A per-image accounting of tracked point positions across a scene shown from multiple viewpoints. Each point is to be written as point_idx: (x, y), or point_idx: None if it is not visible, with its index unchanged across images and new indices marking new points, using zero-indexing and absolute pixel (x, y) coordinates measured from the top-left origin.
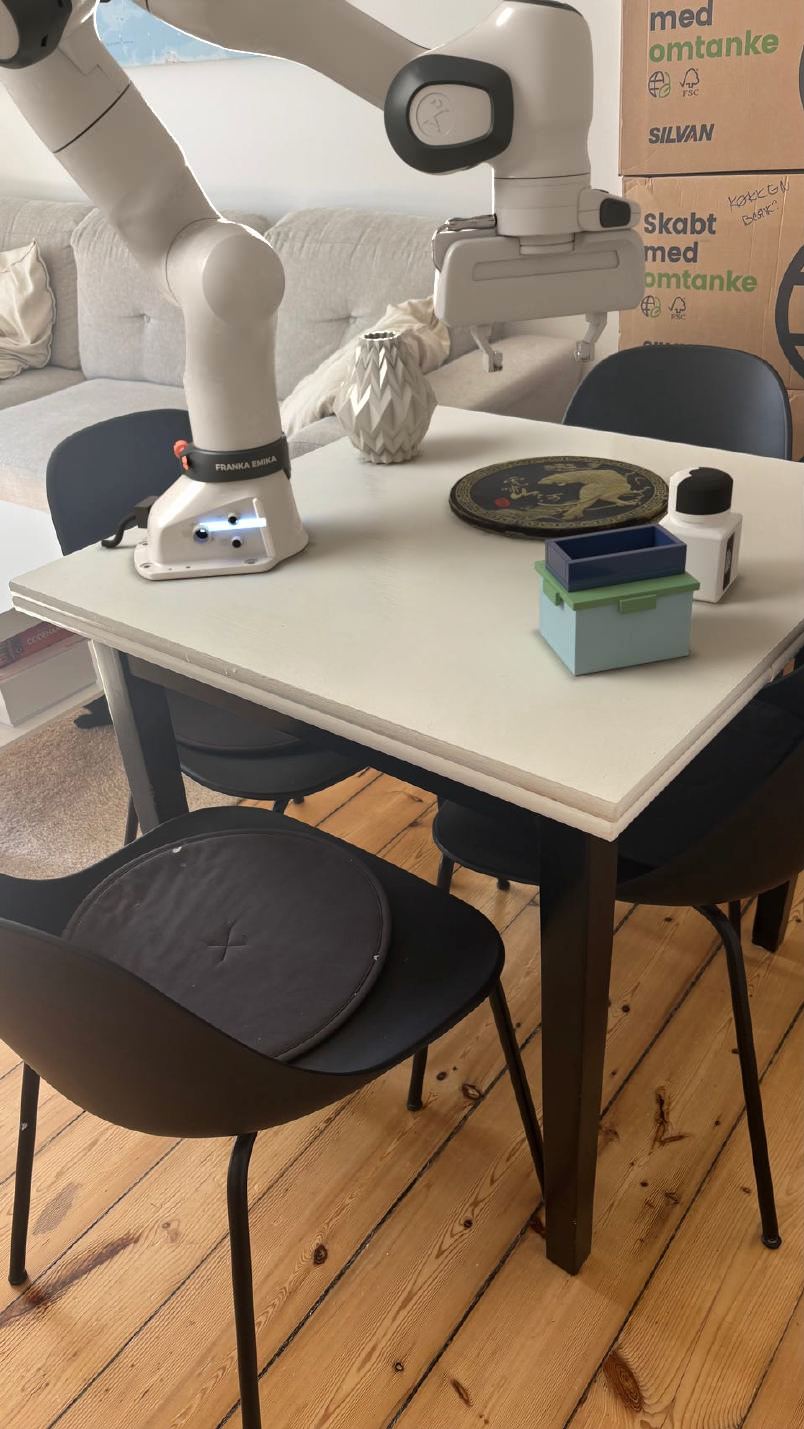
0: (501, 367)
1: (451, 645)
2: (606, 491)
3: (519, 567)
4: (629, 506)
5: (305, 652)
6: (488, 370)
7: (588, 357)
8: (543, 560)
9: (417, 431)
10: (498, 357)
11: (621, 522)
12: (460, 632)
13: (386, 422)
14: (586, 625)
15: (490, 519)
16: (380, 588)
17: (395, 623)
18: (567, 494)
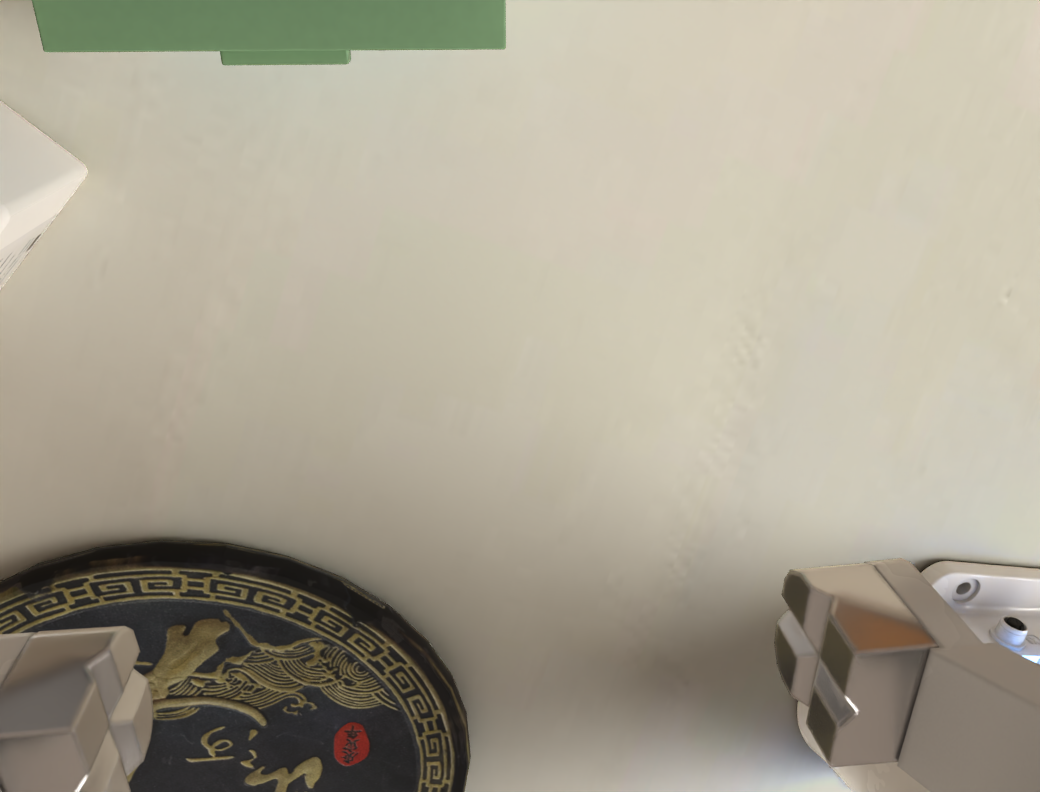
0: (813, 576)
1: (707, 42)
2: None
3: (399, 433)
4: None
5: (1023, 137)
6: (906, 563)
7: (36, 645)
8: (474, 43)
9: None
10: (875, 631)
11: (69, 571)
12: (660, 111)
13: None
14: None
15: (410, 658)
16: (747, 416)
17: (785, 220)
18: (176, 754)
